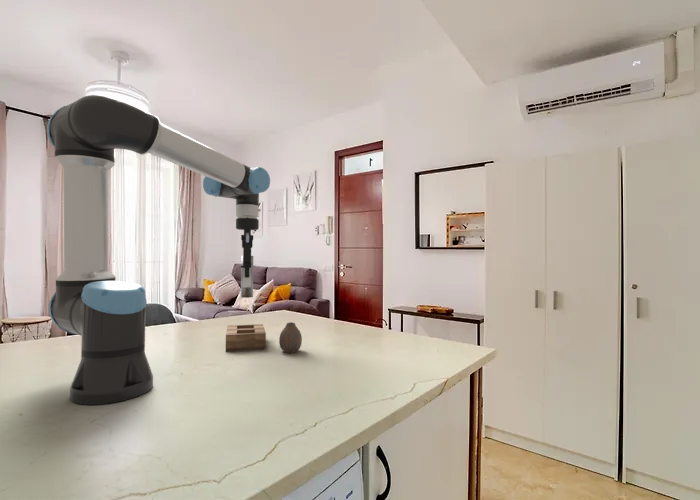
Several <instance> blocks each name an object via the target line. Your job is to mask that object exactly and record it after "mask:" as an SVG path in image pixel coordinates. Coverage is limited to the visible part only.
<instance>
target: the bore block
mask: <svg viewBox="0 0 700 500" xmlns="http://www.w3.org/2000/svg"><path fill="white" fill-rule="evenodd" d="M265 329H266V328H265V326H264V323H258V324H230V325H226V332H225V352H237V351H238V352H239V351H255V350H266V349H267V347H266V345H267V341H266V339H267V338H266V337H267V335H266V334H267V333H266V330H265Z"/></svg>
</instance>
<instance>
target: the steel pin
mask: <svg viewBox="0 0 700 500" xmlns="http://www.w3.org/2000/svg"><path fill="white" fill-rule="evenodd" d="M240 257H241V258H240V259H241V260H240V262H241V264H240V298H243V299H244V298H245V299H247V298H254V255H251V287H243V268H241V266H243V255H241V256H240Z"/></svg>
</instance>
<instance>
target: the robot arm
mask: <svg viewBox="0 0 700 500" xmlns="http://www.w3.org/2000/svg"><path fill="white" fill-rule="evenodd" d="M46 133H47V137H48V140H49V141H50V144H51V145H52V146H53V148H54V160H55V161H56V162H57V163H58V164H59V165H61V167H62V170H63V171H62V172H63V173H62V175H63V176H62V177H63V178H62V180H63V181H62V183H63V184H62V185H63V187H62V188H63V190H62V191H63V192H62V193H63V195H62V196H63V197H62V199H63V202H62V204H63V271H62V272H61V273H60V274H59V275H58V276H57V277H55V293H54V294H53V295H52V296H51V298H50V301H49V303H48V314H49V318H50V319H51V321H52V322H53V324H54V325H56V327H58V328H59V329H60V330H63V331H64V332H66V333H67V334H72V335H78V336H81V342H80V343H81V344H80V346H81V352H80V354H81V355H80V361H79V364H78V367H77V370H76V373H75V375H74V377H73V380H72V382H71V385H70V388H69V400H70V401H71V402H72V403H75V404H79V405H89V406H90V405H105V404H112V403H118V402H123V401H127V400H130V399H133V398H136V397H140V396H142V395H143V394H146V393H148V392H149V391H150V390H152V388H153V386H154V374H153V372H152V369H151V366H150V363H149V361H148V357H147V354H146V352H145V350H146V349H145V347H146V319H147V318H146V317H147V316H146V313H147V312H146V309H147V308H146V307H147V296H146V289H145V287H143V285H141V284H139V283H136V282H131V281H123V280H122V281H121V280H116V275H115V274H114V273H112V272H111V271H110V270H109V239H108V238H109V233H108V231H109V224H108V223H109V222H108V221H109V219H108V218H109V216H108V215H109V210H108V209H109V205H108V203H109V202H108V200H109V198H108V197H109V194H108V189H109V188H108V185H109V184H108V176H109V175H108V172H109V170H111V169H112V168H113V167H115V165H116V151H115V150H127V151H131V152H134V153H136V154H139V155H146V154H151V155H153V156H155V157H158V158H160V159H163V160H164V161H167V162H170V163H172V164H175V165H178V166H180V167H181V168H184V169H187V170H190V171H191V172H194V173H196V174H198V175H202V176H203V179H202V188H203V191H204V192H205V193H206V194H207V195H209V196H213V197H215V198H216V197H219V198H224V199H225V198H227V199H232V200H233V199H234V200H235V217H236V219H235V229H236V230H240V231H243V234H241V235H240V236H241V238H240V239H241V248H242V249H243V250H242V252H243V253H242V254H243V255H242V256H243V266H241V265H240V269H241V268H243V287H251V256H252V248H253V242H254V235H253V234H252V231H258V230H259V226H260V222H259V219H258V218H259V216H260V215H259V212H261V208H259V207H260V206H259V205H260V204H259V203H260V193H262V194H263V193H264V192H266V191H267V190H268V189H269V188H270V185H271V178H270V174H269V172H268V171H267V170H266V169H265V168H263V167H260V166H252V167H250V166H247V165H246V164H243V163H241V162H239V161H238V160H235V159H233V158H231V157H229V156H227V155H225V154H223V153H221V152H219V151H218V150H215V149H214V148H211V147H209V146H207V145H206V144H203V143H201V142H199V141H196V140H195V139H193V138H191V137H190V136H187V135H185V134H182V132H179V131H178V130H174V129H173V128H171V127H169V126H168V125H165V124H163V123H161V121H160V119H159V117H158V116H156V115H155V114H152V113H151V112H149V111H147V110H144V109H143V108H141V107H138V106H136V105H134V104H132V103H129V102H127V101H125V100H122V99H119V98H116V97H113V96H109V95H104V94H89V95H85V96H82V97H81V98H78V99H77V100H76V101H74V102H71V103H69V104H67V105H64V106H61V107H60V108H58V109H57V110H56V111H55V112H54V113H53V114H52V115H51V116H50V118H49V120H48V122H47V127H46Z"/></svg>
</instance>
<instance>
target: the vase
mask: <svg viewBox="0 0 700 500" xmlns="http://www.w3.org/2000/svg"><path fill="white" fill-rule="evenodd" d="M278 341H279V347H280V349H281V350H282V351H283V352H284V353H285V354H294V353H295V354H296V353H297V352H298V351H299V350H300V348H301V347H302V343H303V336H302V333H301V330H300V329H299V328H298V326H297V325H296V323H295V322H291V321H290V322H286V325H285V327H283V329H282V330H281V332H280V335H279V339H278Z"/></svg>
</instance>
